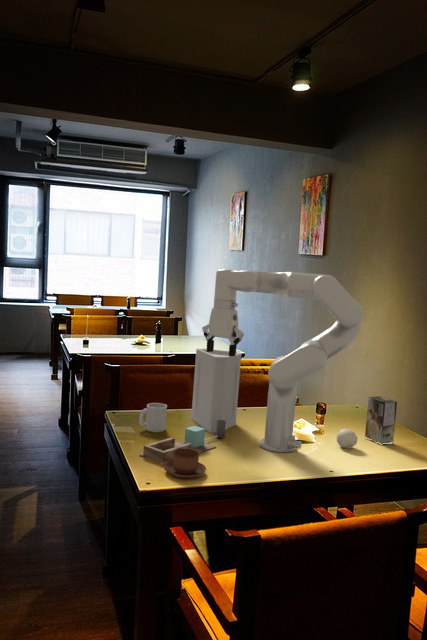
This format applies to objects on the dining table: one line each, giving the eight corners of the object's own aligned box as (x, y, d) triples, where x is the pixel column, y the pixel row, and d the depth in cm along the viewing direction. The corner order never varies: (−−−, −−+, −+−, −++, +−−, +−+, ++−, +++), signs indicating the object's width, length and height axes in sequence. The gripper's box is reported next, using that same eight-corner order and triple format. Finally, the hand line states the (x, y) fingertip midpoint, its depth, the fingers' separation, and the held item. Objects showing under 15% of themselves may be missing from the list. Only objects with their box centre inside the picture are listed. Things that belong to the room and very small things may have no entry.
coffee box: (393, 444, 201) (398, 401, 200) (381, 445, 198) (385, 402, 197) (376, 436, 209) (380, 395, 208) (363, 437, 207) (367, 396, 205)
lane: (190, 439, 189) (191, 429, 189) (216, 447, 182) (216, 437, 182) (139, 455, 169) (140, 444, 169) (165, 465, 162) (166, 454, 162)
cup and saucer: (155, 471, 158) (157, 450, 157) (186, 463, 166) (188, 443, 165) (182, 485, 149) (184, 463, 148) (214, 475, 157) (215, 455, 157)
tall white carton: (245, 430, 204) (251, 357, 202) (209, 432, 198) (215, 357, 196) (224, 416, 222) (229, 349, 219) (190, 418, 216) (195, 348, 213)
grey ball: (350, 452, 188) (352, 433, 187) (332, 446, 193) (334, 428, 192) (360, 448, 193) (362, 430, 192) (342, 443, 198) (343, 425, 197)
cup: (168, 431, 196) (169, 407, 195) (141, 433, 191) (142, 408, 191) (161, 426, 202) (163, 402, 201) (135, 427, 198) (137, 403, 197)
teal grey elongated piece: (217, 433, 196) (219, 418, 195) (227, 436, 193) (229, 421, 192) (184, 444, 181) (185, 428, 180) (194, 447, 178) (195, 431, 178)
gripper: (251, 307, 186) (247, 356, 187) (211, 302, 196) (208, 349, 198) (238, 307, 180) (234, 358, 181) (198, 302, 190) (194, 350, 192)
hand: (220, 353), depth 189 cm, fingers open, 9 cm apart
